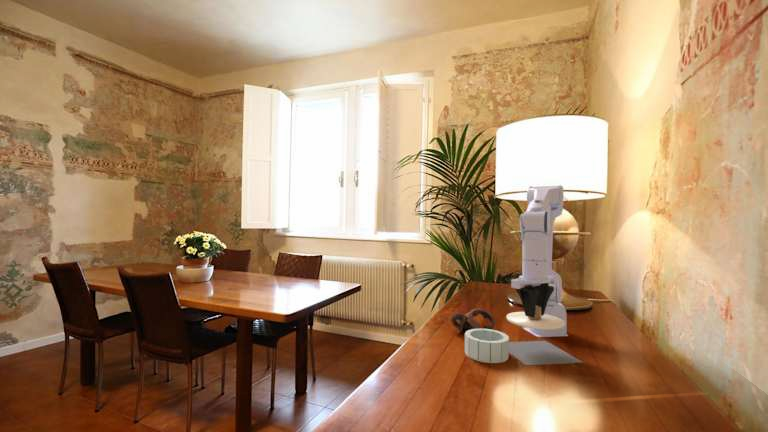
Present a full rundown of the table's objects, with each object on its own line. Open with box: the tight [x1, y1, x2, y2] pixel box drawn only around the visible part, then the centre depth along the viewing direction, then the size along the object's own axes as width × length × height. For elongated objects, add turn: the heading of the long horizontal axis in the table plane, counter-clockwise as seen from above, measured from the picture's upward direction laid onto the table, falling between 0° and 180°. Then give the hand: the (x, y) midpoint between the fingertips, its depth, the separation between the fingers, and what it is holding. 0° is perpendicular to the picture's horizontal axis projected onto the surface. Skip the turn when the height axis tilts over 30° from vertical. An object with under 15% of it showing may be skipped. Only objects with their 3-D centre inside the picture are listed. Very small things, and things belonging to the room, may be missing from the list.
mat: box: [509, 340, 584, 366], centre depth 83 cm, size 14×14×1 cm
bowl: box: [464, 327, 510, 364], centre depth 82 cm, size 10×10×5 cm
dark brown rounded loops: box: [450, 308, 496, 333], centre depth 97 cm, size 12×10×8 cm
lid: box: [506, 305, 565, 330], centre depth 83 cm, size 13×13×4 cm
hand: (534, 315), depth 83 cm, fingers closed on lid, 3 cm apart
